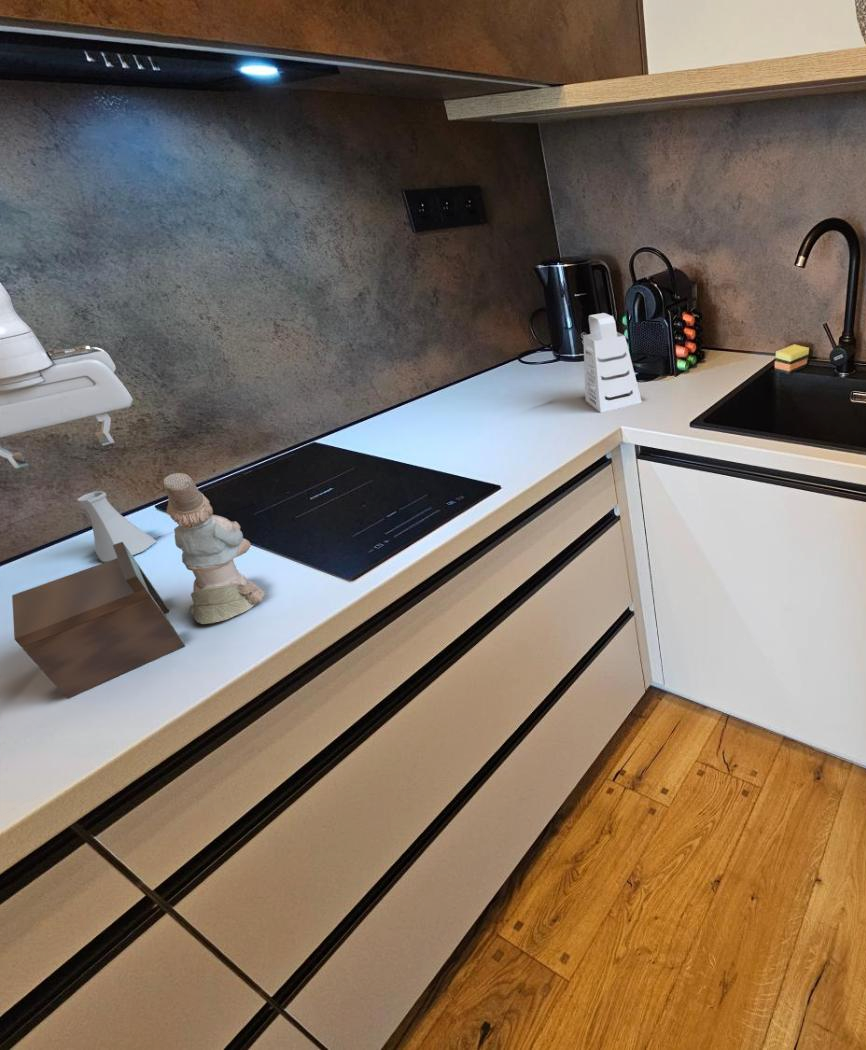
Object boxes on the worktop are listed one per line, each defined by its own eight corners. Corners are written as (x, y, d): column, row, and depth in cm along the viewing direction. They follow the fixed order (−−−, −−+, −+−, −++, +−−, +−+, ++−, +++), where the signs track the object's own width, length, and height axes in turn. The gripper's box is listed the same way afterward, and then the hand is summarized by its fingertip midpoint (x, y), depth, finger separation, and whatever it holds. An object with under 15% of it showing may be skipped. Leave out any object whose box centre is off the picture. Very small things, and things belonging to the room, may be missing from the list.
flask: (87, 561, 92) (46, 505, 87) (134, 536, 98) (99, 483, 93) (121, 565, 90) (81, 509, 85) (167, 540, 96) (133, 486, 91)
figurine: (261, 615, 77) (182, 480, 67) (187, 632, 75) (93, 495, 64) (279, 578, 84) (210, 451, 74) (211, 593, 82) (131, 464, 72)
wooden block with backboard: (67, 699, 66) (2, 626, 60) (60, 651, 73) (1, 582, 68) (185, 646, 73) (136, 576, 67) (167, 607, 80) (122, 541, 74)
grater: (600, 412, 135) (586, 323, 125) (585, 400, 143) (571, 316, 133) (642, 402, 139) (631, 315, 129) (625, 391, 147) (614, 308, 137)
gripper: (99, 339, 86) (151, 427, 93) (-110, 376, 74) (-31, 474, 81) (104, 344, 82) (158, 435, 90) (-116, 384, 70) (-33, 486, 77)
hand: (67, 454), depth 85 cm, fingers open, 8 cm apart
